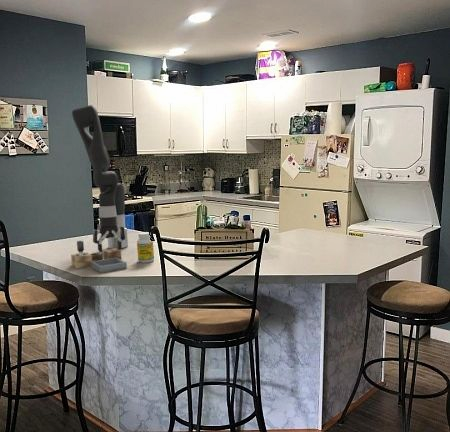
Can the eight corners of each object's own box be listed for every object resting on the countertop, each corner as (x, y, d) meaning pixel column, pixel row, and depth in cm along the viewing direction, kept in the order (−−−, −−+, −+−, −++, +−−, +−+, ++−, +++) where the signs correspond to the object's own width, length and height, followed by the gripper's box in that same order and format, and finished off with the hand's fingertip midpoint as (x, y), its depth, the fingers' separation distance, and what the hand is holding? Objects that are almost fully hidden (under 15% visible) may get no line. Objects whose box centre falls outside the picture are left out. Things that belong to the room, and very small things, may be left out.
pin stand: (99, 258, 235) (98, 252, 234) (102, 260, 231) (102, 254, 230) (88, 260, 232) (88, 254, 232) (92, 262, 228) (91, 256, 228)
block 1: (87, 262, 228) (86, 252, 227) (92, 265, 222) (91, 254, 221) (71, 265, 224) (70, 254, 223) (76, 268, 218) (75, 257, 217)
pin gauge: (84, 264, 225) (82, 240, 223) (86, 265, 223) (84, 241, 221) (78, 265, 224) (75, 241, 222) (80, 266, 221) (77, 242, 220)
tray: (116, 263, 225) (116, 257, 225) (126, 268, 216) (126, 262, 215) (91, 267, 219) (91, 261, 219) (100, 272, 210) (100, 266, 209)
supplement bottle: (153, 258, 232) (151, 231, 230) (154, 261, 225) (153, 233, 223) (137, 259, 231) (136, 232, 229) (138, 263, 224) (136, 235, 222)
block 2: (116, 258, 234) (115, 248, 233) (121, 261, 229) (120, 250, 228) (104, 260, 231) (103, 250, 230) (109, 263, 226) (108, 252, 225)
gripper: (120, 213, 233) (121, 247, 236) (89, 216, 226) (92, 251, 228) (125, 214, 227) (127, 250, 229) (95, 218, 219) (97, 254, 222)
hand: (109, 250), depth 229 cm, fingers open, 8 cm apart
